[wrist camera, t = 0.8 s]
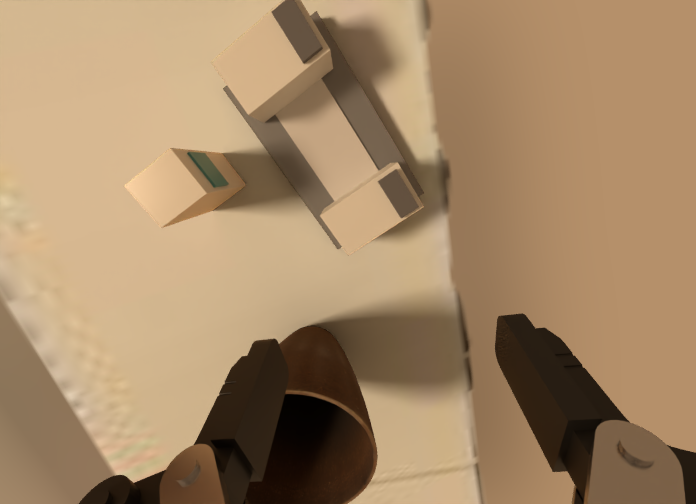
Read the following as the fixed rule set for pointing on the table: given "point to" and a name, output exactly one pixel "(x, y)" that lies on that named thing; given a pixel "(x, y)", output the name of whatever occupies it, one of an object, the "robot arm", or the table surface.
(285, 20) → the board
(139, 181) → the block
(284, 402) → the plant pot
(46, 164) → the table surface
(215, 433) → the robot arm
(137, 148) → the table surface
